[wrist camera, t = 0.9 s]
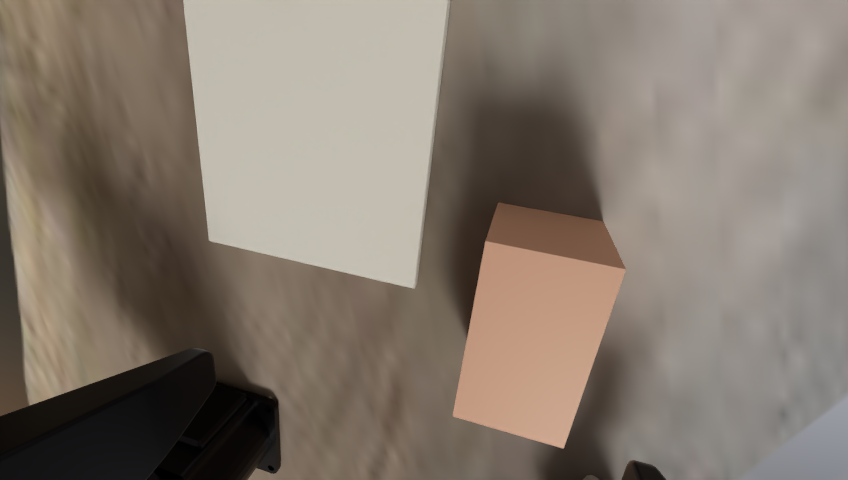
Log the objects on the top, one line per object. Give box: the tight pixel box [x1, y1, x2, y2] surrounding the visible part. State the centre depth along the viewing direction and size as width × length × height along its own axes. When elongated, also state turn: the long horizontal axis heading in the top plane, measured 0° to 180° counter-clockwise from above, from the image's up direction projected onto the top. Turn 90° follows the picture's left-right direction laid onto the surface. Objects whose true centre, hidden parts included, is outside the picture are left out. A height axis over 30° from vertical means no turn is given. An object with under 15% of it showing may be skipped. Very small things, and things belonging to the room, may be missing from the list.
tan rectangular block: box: [453, 202, 626, 449], centre depth 17 cm, size 8×4×5 cm, turn 174°
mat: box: [183, 0, 451, 288], centre depth 19 cm, size 14×12×1 cm
